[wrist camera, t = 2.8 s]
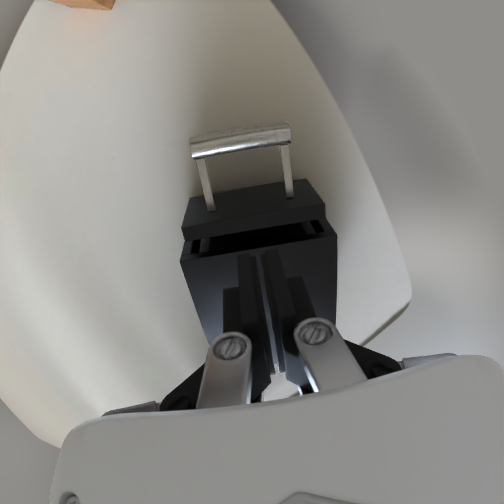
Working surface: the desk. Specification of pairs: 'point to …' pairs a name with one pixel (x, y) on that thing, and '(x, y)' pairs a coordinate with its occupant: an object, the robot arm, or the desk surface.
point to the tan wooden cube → (87, 3)
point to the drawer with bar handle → (249, 195)
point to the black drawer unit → (294, 264)
